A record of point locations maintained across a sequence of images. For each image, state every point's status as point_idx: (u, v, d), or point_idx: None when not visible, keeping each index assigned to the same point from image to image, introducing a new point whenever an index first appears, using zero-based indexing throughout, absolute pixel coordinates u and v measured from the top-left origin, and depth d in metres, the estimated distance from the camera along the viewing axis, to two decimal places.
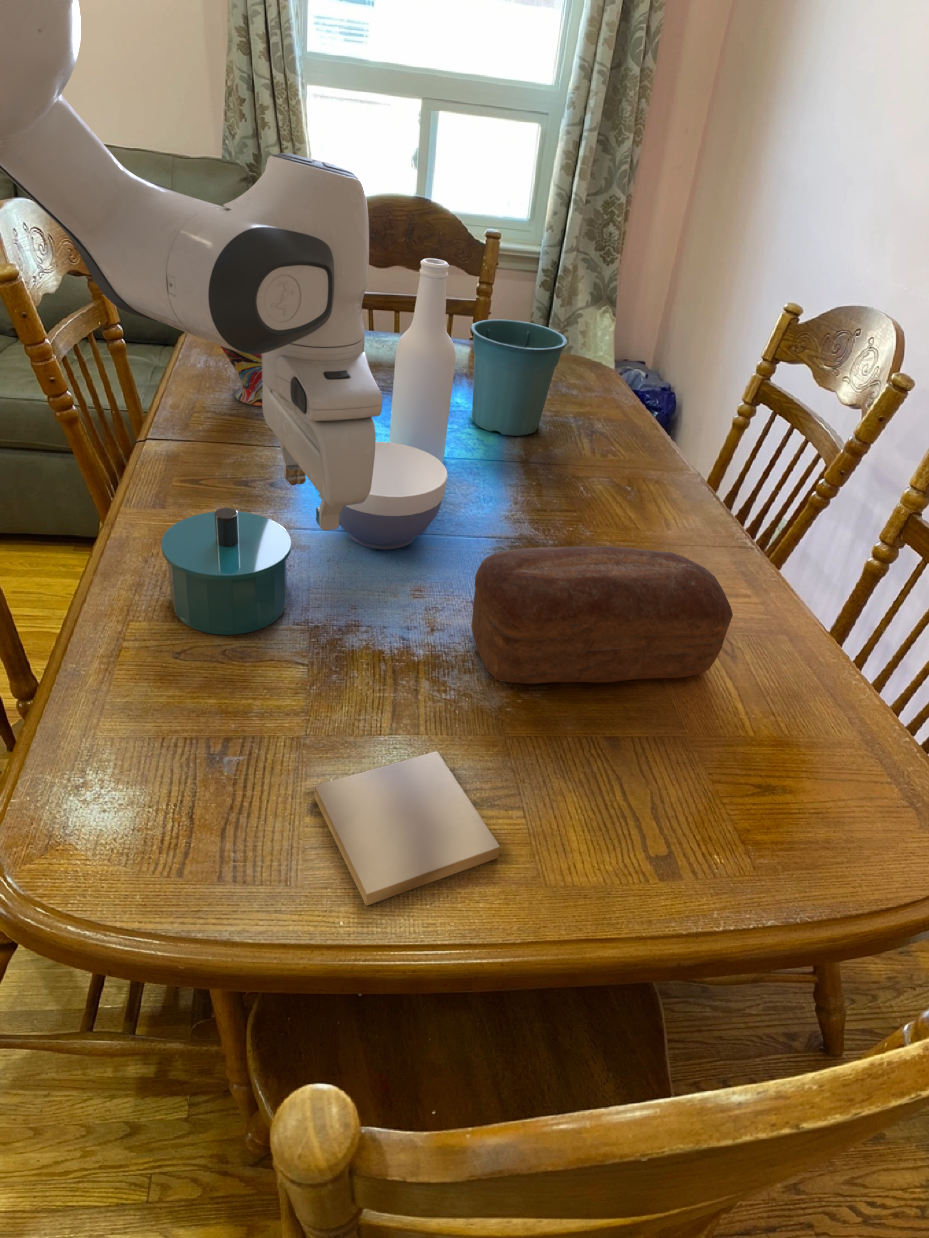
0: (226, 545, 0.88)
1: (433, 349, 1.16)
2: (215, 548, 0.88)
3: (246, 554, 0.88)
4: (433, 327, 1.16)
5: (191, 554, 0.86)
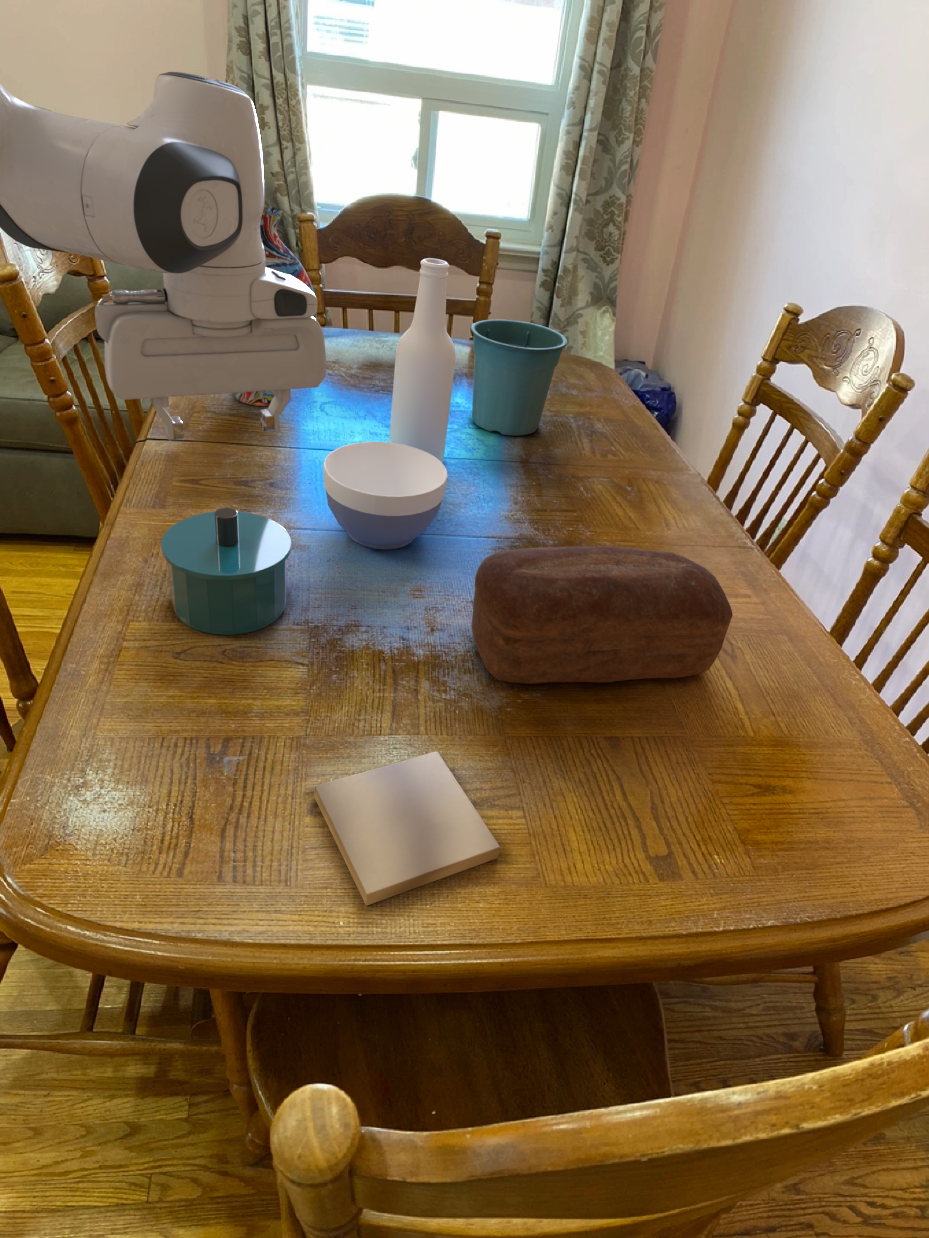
0: (226, 545, 0.88)
1: (433, 349, 1.16)
2: (215, 548, 0.88)
3: (246, 554, 0.88)
4: (433, 327, 1.16)
5: (191, 554, 0.86)
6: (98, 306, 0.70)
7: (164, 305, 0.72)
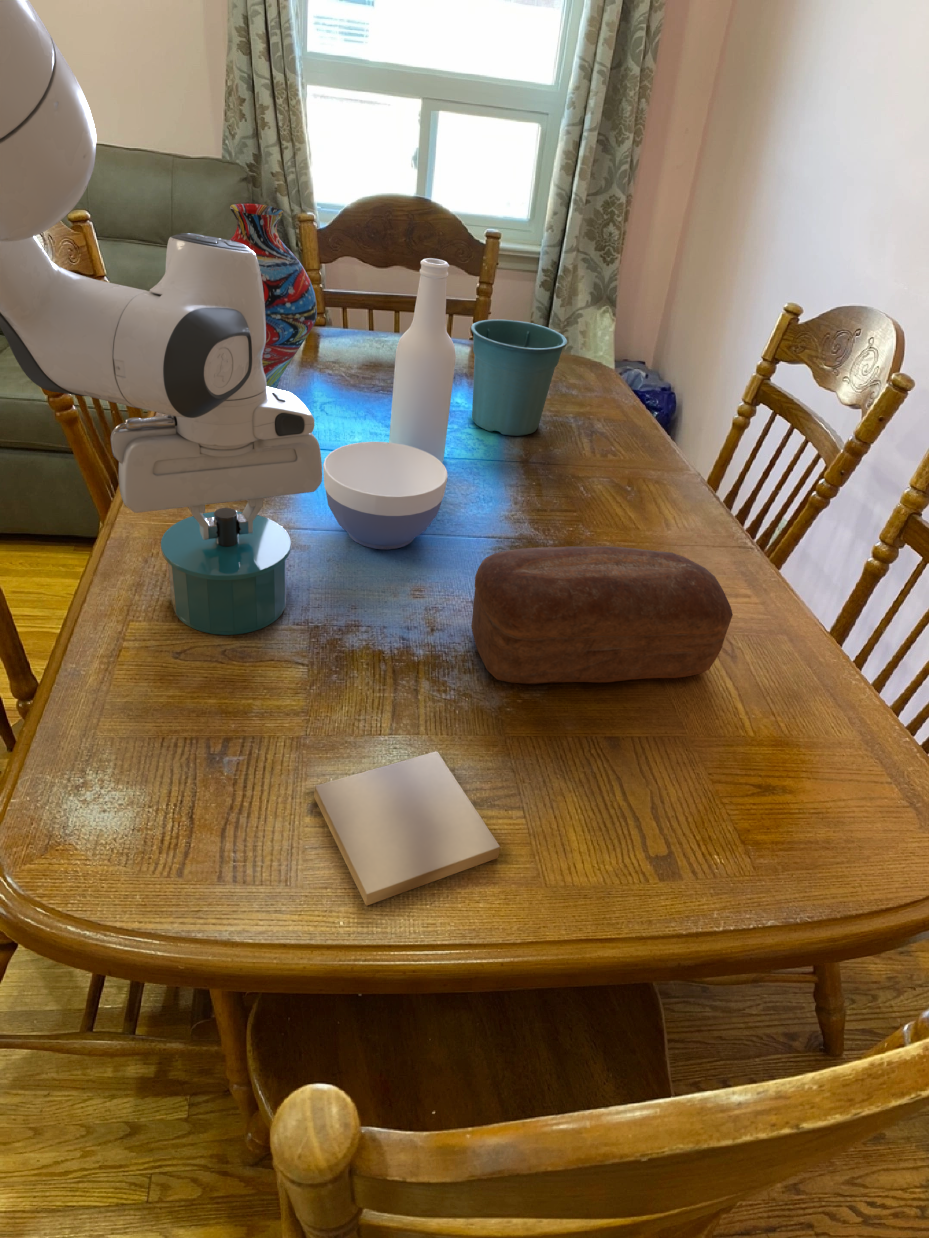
0: (226, 545, 0.88)
1: (433, 349, 1.16)
2: (215, 548, 0.88)
3: (246, 554, 0.88)
4: (433, 327, 1.16)
5: (191, 554, 0.86)
6: (114, 433, 0.77)
7: (174, 429, 0.79)
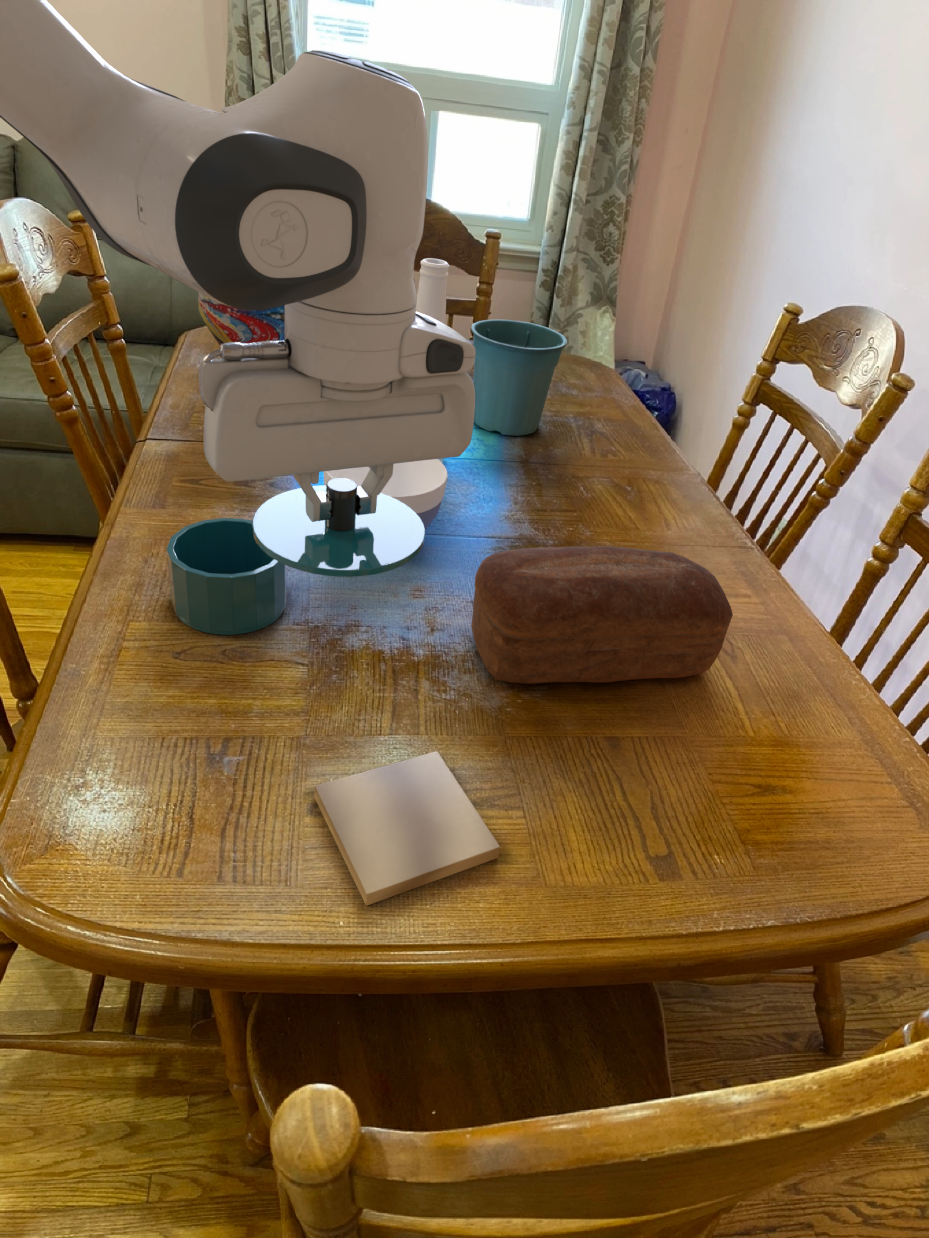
0: (341, 529, 0.64)
1: None
2: (326, 533, 0.64)
3: (369, 541, 0.64)
4: None
5: (296, 541, 0.62)
6: (205, 364, 0.53)
7: (286, 361, 0.55)
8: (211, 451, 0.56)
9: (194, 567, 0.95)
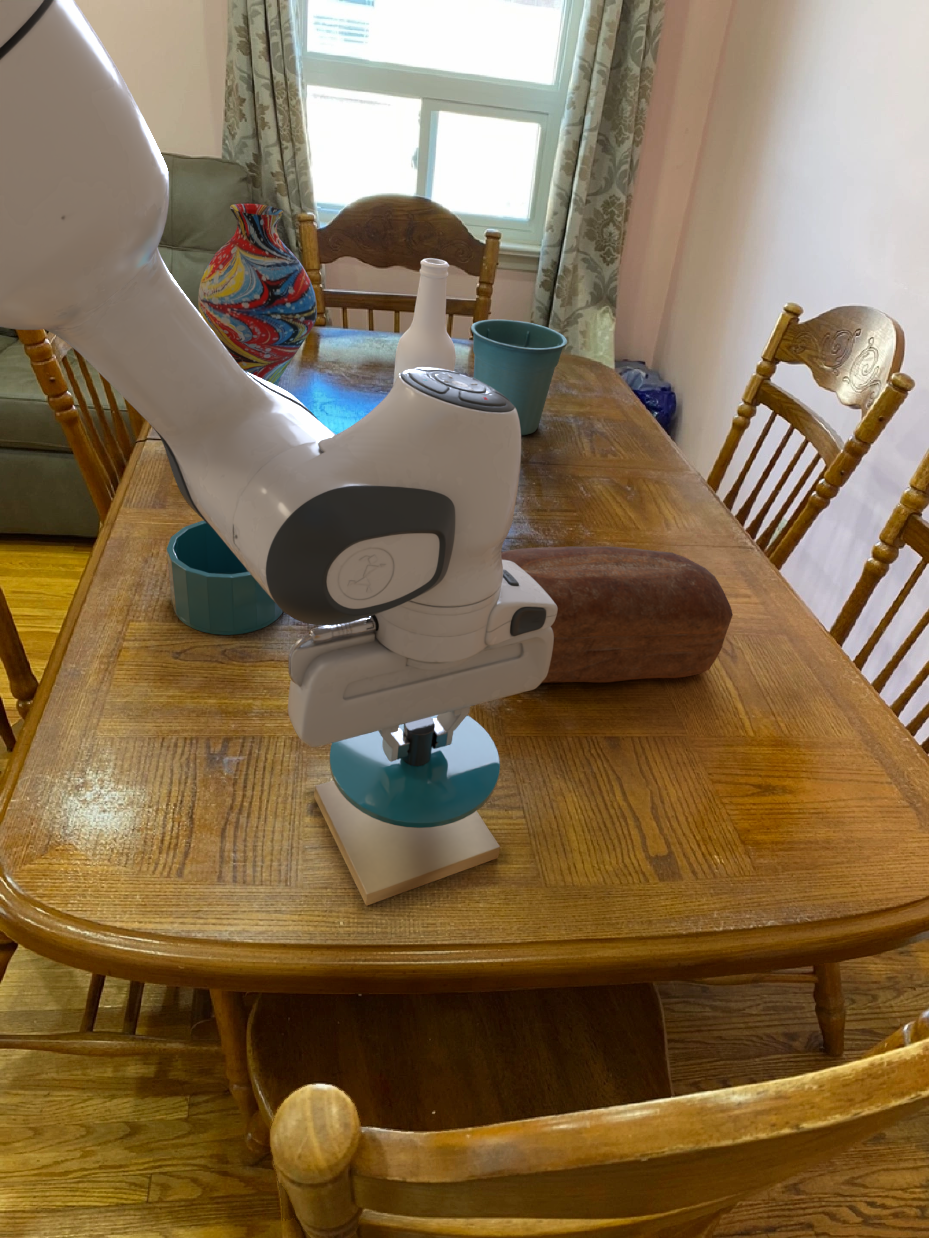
0: (417, 765, 0.64)
1: (433, 349, 1.16)
2: (403, 770, 0.64)
3: (446, 779, 0.64)
4: (433, 327, 1.16)
5: (375, 784, 0.63)
6: (296, 650, 0.53)
7: (373, 635, 0.55)
8: (297, 721, 0.56)
9: (194, 567, 0.95)
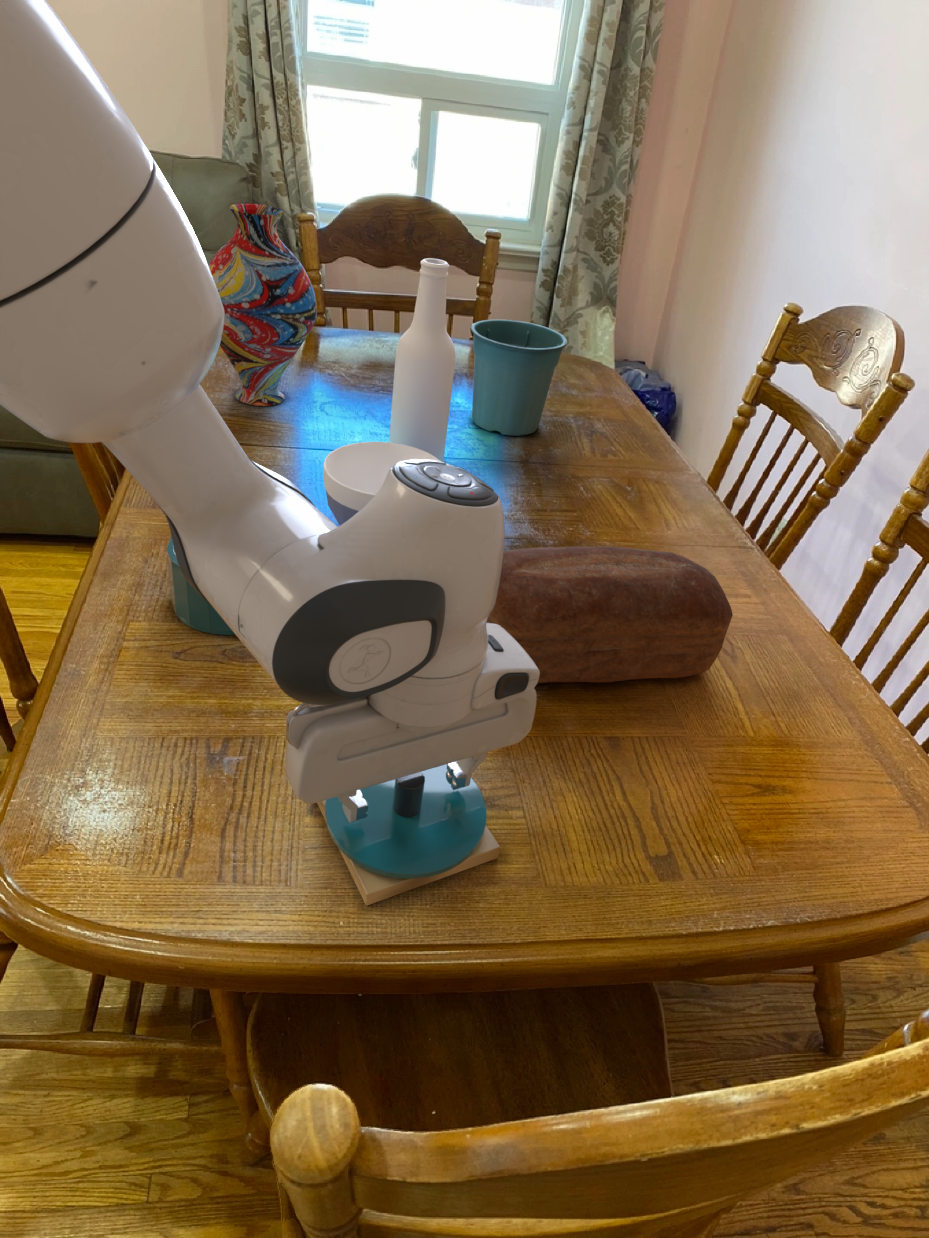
0: (408, 816, 0.68)
1: (433, 349, 1.16)
2: (395, 821, 0.68)
3: (435, 830, 0.67)
4: (433, 327, 1.16)
5: (368, 835, 0.66)
6: (293, 717, 0.57)
7: (365, 700, 0.59)
8: (294, 780, 0.60)
9: None
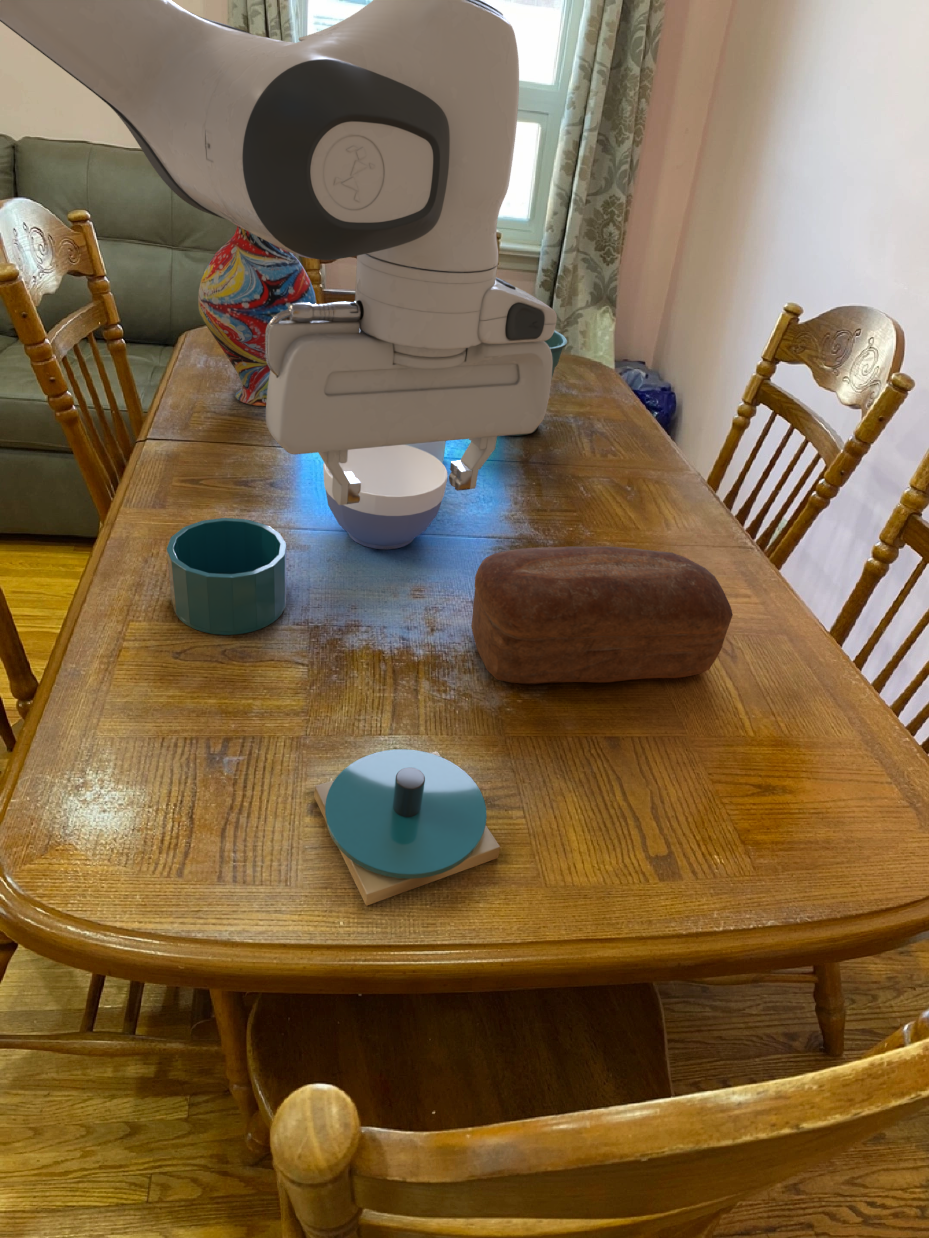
0: (408, 816, 0.68)
1: None
2: (395, 821, 0.68)
3: (435, 830, 0.67)
4: None
5: (368, 835, 0.66)
6: (273, 325, 0.49)
7: (357, 324, 0.51)
8: (275, 421, 0.52)
9: (194, 567, 0.95)
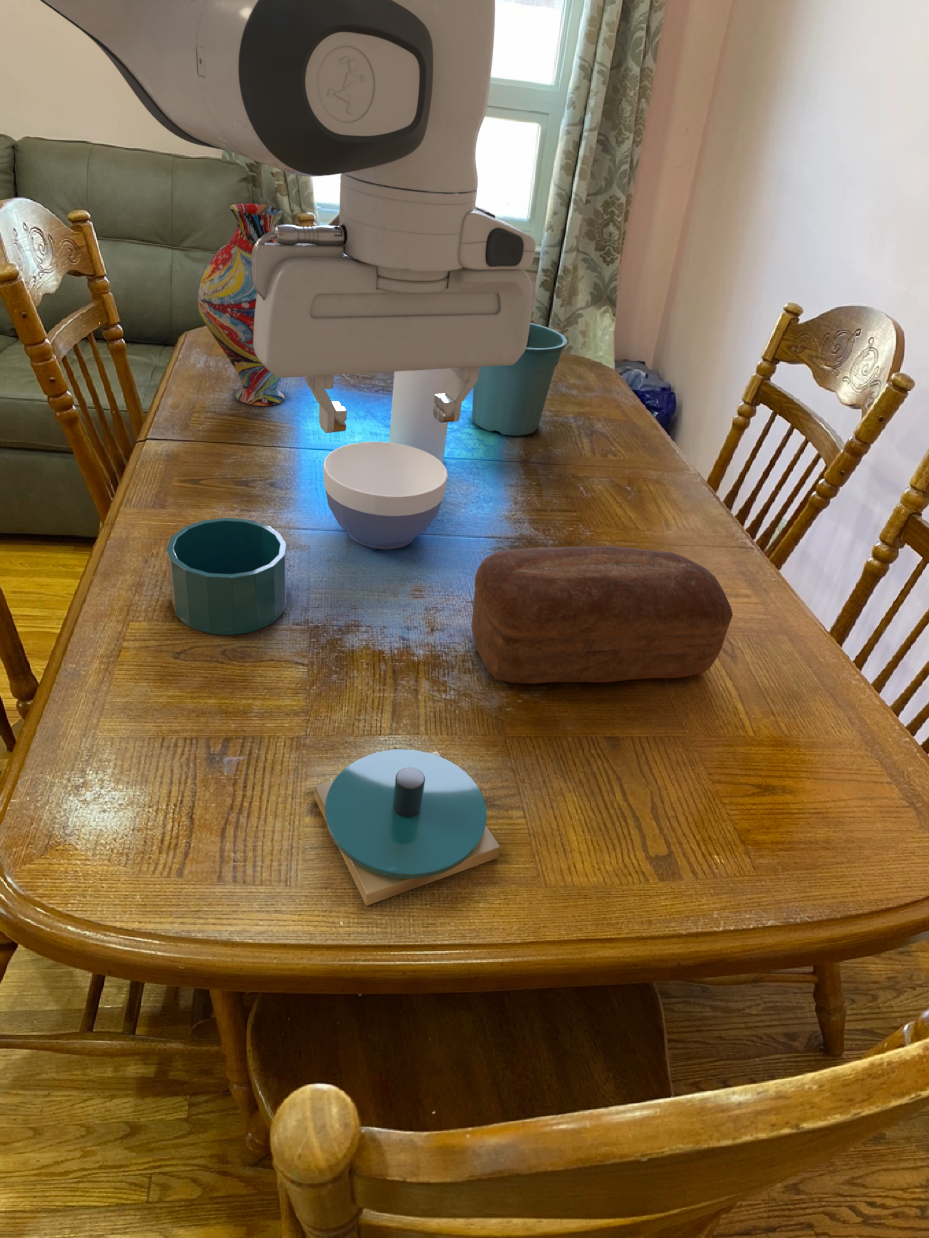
0: (408, 816, 0.68)
1: None
2: (395, 821, 0.68)
3: (435, 830, 0.67)
4: None
5: (368, 835, 0.66)
6: (259, 246, 0.51)
7: (341, 248, 0.53)
8: (262, 344, 0.54)
9: (194, 567, 0.95)
